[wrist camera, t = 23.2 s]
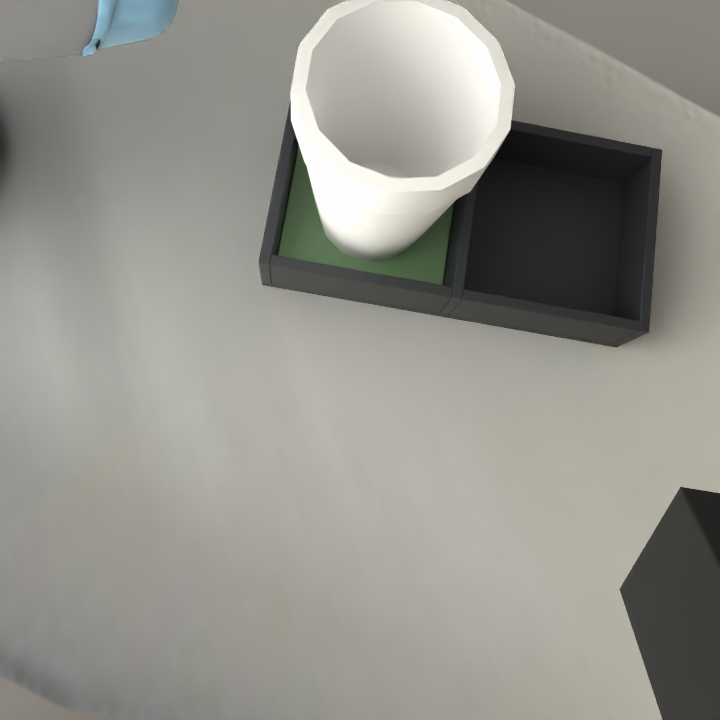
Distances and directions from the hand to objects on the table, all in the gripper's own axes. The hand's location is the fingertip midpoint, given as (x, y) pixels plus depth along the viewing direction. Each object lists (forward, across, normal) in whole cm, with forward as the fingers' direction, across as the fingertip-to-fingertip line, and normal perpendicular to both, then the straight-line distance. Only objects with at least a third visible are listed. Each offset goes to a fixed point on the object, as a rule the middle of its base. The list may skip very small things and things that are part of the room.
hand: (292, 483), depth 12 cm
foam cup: (+31, +2, -7) cm, 32 cm away
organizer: (+31, +7, -7) cm, 33 cm away
